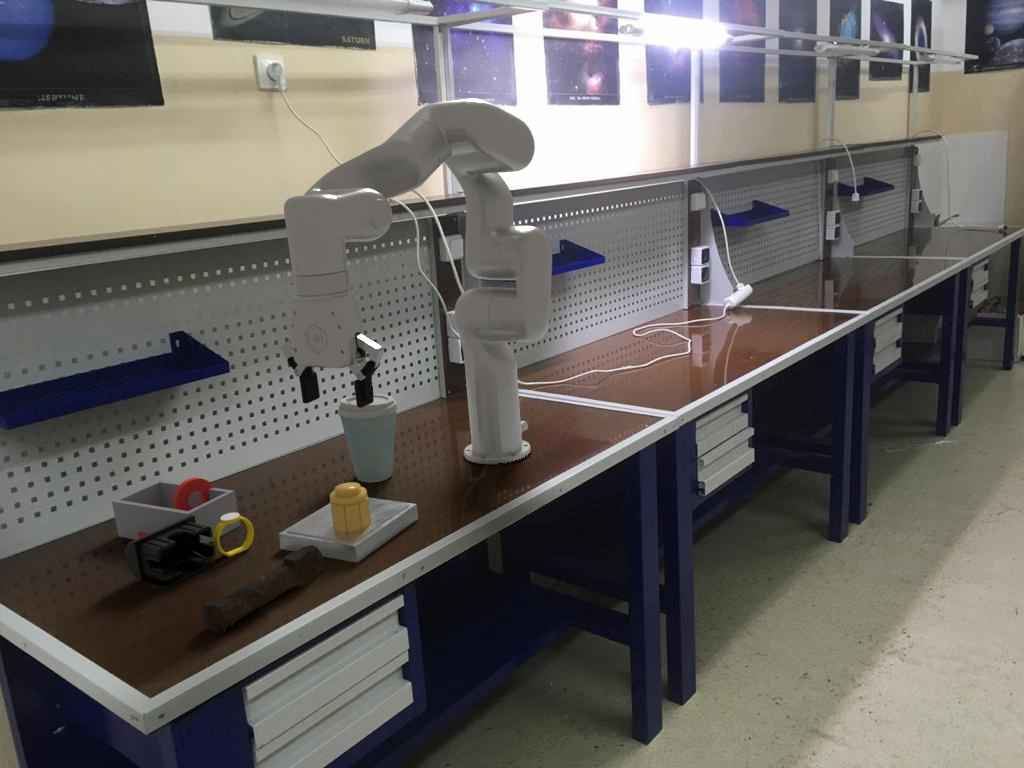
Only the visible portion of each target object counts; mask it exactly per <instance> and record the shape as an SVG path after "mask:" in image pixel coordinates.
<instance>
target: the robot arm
mask: <svg viewBox="0 0 1024 768" xmlns="http://www.w3.org/2000/svg"><path fill="white" fill-rule="evenodd" d="M535 146H536V145H535V139H534V135H533V133H532V131H531V129H530V128H529V126H528V125H527V124H526V122H525V121H523V120H522V119H520V118H519V117H517V116H516V115H513V114H512V113H510V112H508V111H506V110H504V109H503V108H501V107H498V106H497V105H495V104H493V103H491V102H488V101H485V100H482V99H479V98H465V99H456V100H447V101H439V102H438V101H437V102H432V103H429V104H426V105H425V106H423V107H422V108H421V107H420V109H419V110H417V111H416V112H415V113H414V114H413V115H412V116H410V118H408V119H407V121H405V122H404V123H403V124H402V125H401V126H400V127H399V128H398V129H397V130H396V131H395V132H393V134H392V135H390V136H389V137H388V138H387V139H386V140H385V141H383V143H380V144H379V145H377V146H375V147H372V148H371V149H369V150H367V151H364V152H362V153H361V154H359V155H357V156H355V157H354V158H351V159H349V160H347V161H345V162H343V163H341V164H339V165H337V166H336V167H334V168H333V169H331V170H330V171H329V172H327V173H326V174H324V175H323V176H322V177H320V178H319V179H318V180H317V181H315V183H314V184H313V185H312V186H311V187H309V188H308V189H307V190H306V192H305V193H304V194H302V195H295V196H292V197H289V198H287V199H286V200H285V202H284V204H283V213H284V215H283V216H284V224H285V229H286V235H287V243H288V251H289V255H290V256H289V258H290V263H291V269H292V270H291V273H292V277H291V278H289V279H290V280H289V284H290V286H291V287H294V291H295V295H294V296H292V297H291V301H290V319H289V320H290V322H289V323H290V336H291V338H290V339H289V340H287V341H285V343H283V344H281V346H280V349H281V351H282V353H283V355H284V357H285V358H286V359H287V360H286V361H287V364H288V365H289V366H290V367H291V368H292V370H294V372H293V373H294V376H296V377H297V378H298V379H299V386H300V391H301V401H302V403H303V404H309V403H311V402H313V401H316V400H318V399H319V398H321V396H320V394H321V393H320V387H319V380H318V374H317V372H316V371H314V369H315V368H321V369H322V368H325V369H345V368H347V367H348V369H349V370H350V371H351V372H352V374H353V375H354V376H355V378H356V379H354V380H353V386H354V387H353V388H354V395H356V403H357V406H358V407H359V408H363V407H365V406H367V405H369V404H371V403H373V401H374V399H373V396H374V394H375V393H374V387H373V380H372V377H373V376H375V372H376V371H377V369H378V368H379V367H380V365H381V360H382V357H383V354H384V348H383V346H381V345H380V344H378V343H377V342H375V341H373V340H371V339H369V338H368V337H366V334H365V330H364V323H363V320H362V316H361V311H360V308H359V305H358V301H357V299H356V295H355V293H354V292H351V284H350V276H349V269H348V268H349V266H348V260H347V252H346V251H347V250H346V243H348V242H349V243H365V242H372V241H376V240H377V239H380V238H382V236H384V235H385V234H386V233H387V232H388V231H389V229H390V227H391V224H392V222H393V210H392V206H391V203H390V201H389V200H388V199H391V198H395V197H399V196H402V195H405V194H407V193H410V192H412V191H415V190H417V189H419V188H420V187H422V185H424V183H425V182H426V181H427V180H428V179H429V178H430V177H431V176H432V175H433V174H434V173H435V172H436V171H437V170H438V168H440V167H441V166H442V164H445V165H446V166H447V168H448V169H449V170H450V172H451V173H452V174H453V176H454V177H455V179H456V180H457V181H458V184H459V185H460V187H461V189H462V192H463V195H464V198H465V205H466V207H465V209H466V210H465V211H466V217H465V219H466V220H465V247H464V248H465V252H464V253H465V254H464V255H465V256H464V257H465V258H464V259H465V267H466V270H467V272H468V273H469V274H470V275H471V276H473V277H474V278H477V279H480V280H488V281H489V280H490V281H515V283H516V285H515V286H516V287H492V286H491V287H490V286H487V287H484V286H483V287H474V288H471V289H468V290H466V291H465V292H463V293H462V294H460V296H459V297H458V298H457V301H456V303H455V305H454V319H455V323H456V324H455V325H456V329H457V332H458V335H459V339H460V343H461V347H462V352H463V361H464V368H465V369H464V370H465V372H464V373H465V382H466V395H467V404H468V405H467V407H468V416H469V419H468V420H469V428H470V429H469V430H470V440H471V442H470V444H469V445H467V446H466V447H465V448H464V449H463V455H464V458H465V459H466V460H467V461H469V462H472V463H474V464H479V465H480V464H481V465H499V464H498V463H503V464H508V463H507V462H509V463H512V462H511V461H514V462H516V461H515V460H517V461H520V460H522V459H524V458H526V457H527V456H529V455H528V454H529V453H531V452H532V450H531V449H532V448H531V445H530V443H529V442H528V441H527V440H523V438H522V437H523V436H522V434H523V432H525V431H526V430H528V428H529V424H528V422H527V421H526V420H521V412H520V411H521V409H520V397H519V396H520V395H519V385H518V384H519V379H518V367H517V361H516V357H515V354H514V352H513V350H512V348H511V346H510V344H508V342H515V343H516V342H517V343H532V342H537V341H539V340H541V339H542V338H543V337H544V336H545V335H546V333H547V330H548V328H549V323H550V318H551V317H550V316H551V302H552V301H551V300H552V299H551V297H552V296H551V295H552V277H553V276H552V274H553V273H552V272H553V254H552V253H553V252H552V246H551V243H550V240H549V238H548V235H547V234H546V232H544V231H543V229H541V228H539V227H537V226H533V225H515V224H514V197H513V194H512V192H511V190H510V188H509V186H508V184H507V183H506V181H505V180H504V179H503V177H502V176H501V175H500V174H499V173H513V172H514V173H515V172H519V171H522V170H524V169H525V168H527V167H528V166H529V165H530V164H531V162H532V160H533V158H534V154H535V148H536V147H535ZM367 353H368V356H369V357H368V360H367ZM530 451H531V452H530ZM526 455H527V456H526ZM525 456H526V457H525ZM523 457H524V458H523ZM521 458H522V459H521ZM519 459H520V460H519Z"/></svg>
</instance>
